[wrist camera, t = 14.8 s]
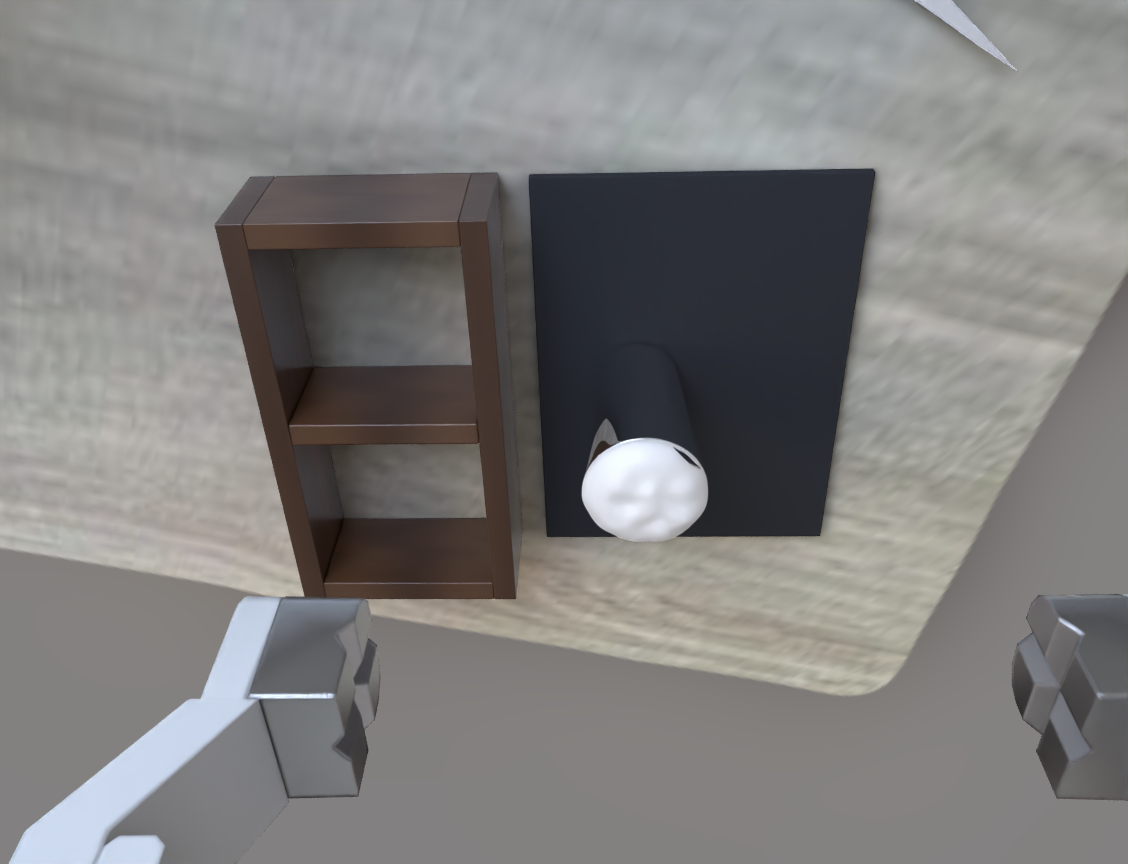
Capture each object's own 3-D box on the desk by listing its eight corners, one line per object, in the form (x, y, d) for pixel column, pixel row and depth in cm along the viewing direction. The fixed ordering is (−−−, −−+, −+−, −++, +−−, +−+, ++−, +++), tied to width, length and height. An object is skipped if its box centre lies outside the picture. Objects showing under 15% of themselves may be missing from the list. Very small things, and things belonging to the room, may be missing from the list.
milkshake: (723, 343, 43) (753, 493, 35) (655, 433, 46) (667, 592, 37) (630, 294, 42) (637, 438, 33) (565, 389, 44) (558, 544, 36)
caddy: (326, 533, 50) (304, 599, 46) (249, 176, 40) (213, 224, 36) (522, 533, 50) (516, 599, 46) (497, 172, 39) (486, 220, 36)
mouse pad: (547, 531, 50) (547, 537, 49) (529, 174, 39) (528, 177, 39) (818, 531, 49) (820, 536, 49) (873, 168, 39) (875, 172, 38)
